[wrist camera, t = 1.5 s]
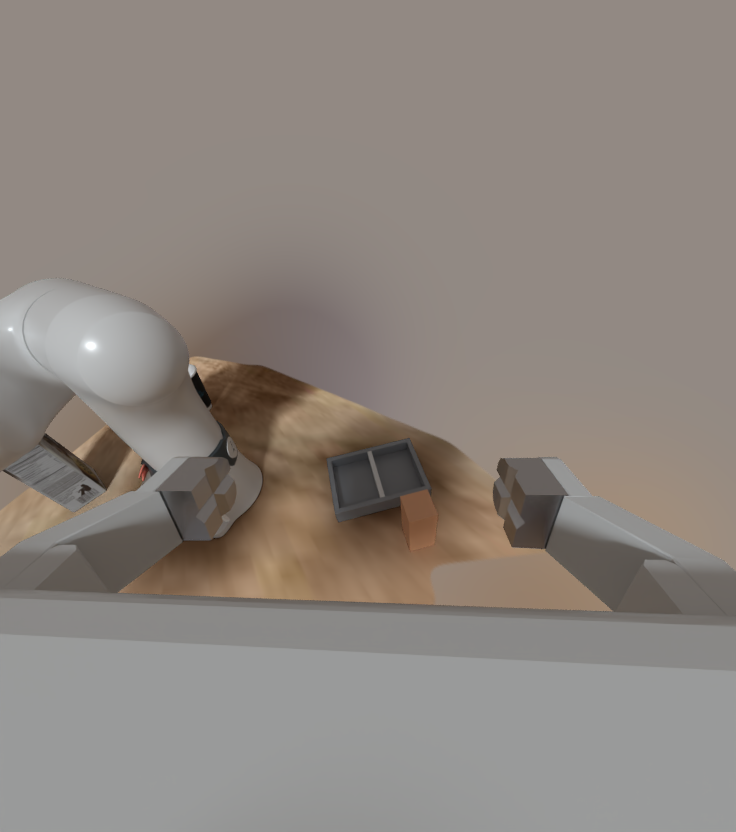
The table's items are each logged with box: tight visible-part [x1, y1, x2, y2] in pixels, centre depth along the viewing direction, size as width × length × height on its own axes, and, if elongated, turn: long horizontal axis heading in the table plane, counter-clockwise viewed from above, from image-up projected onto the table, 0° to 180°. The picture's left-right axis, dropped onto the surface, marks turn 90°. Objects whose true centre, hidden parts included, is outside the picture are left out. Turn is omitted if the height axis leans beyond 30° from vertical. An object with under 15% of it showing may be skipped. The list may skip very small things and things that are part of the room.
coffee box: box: [3, 434, 107, 512], centre depth 56 cm, size 9×6×16 cm
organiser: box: [327, 438, 431, 522], centre depth 55 cm, size 16×12×3 cm
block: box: [400, 489, 438, 552], centre depth 44 cm, size 4×4×10 cm
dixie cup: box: [188, 364, 212, 410], centre depth 72 cm, size 8×8×11 cm
